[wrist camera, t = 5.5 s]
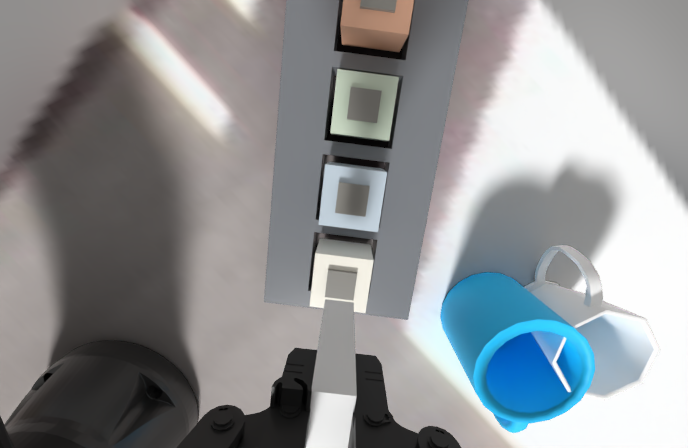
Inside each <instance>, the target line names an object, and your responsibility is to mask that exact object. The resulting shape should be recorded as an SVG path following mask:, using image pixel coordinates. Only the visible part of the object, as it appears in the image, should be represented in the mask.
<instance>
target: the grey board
mask: <svg viewBox="0 0 688 448" xmlns="http://www.w3.org/2000/svg"><path fill="white" fill-rule="evenodd" d="M467 5H468V0H414V4H413V10H412V17H411V23H410V30H409V35H408V37H407V39H406V41H405V42H404V44H403V49H402V55H401V60H399V59H392V58H384V57H377V56H369V55H362V54H354V53H347V52H339V51H337V44H338V35H339V26H340V17H341V8H342V0H286V13H285V26H284V40H283V53H282V67H281V80H280V94H279V107H278V121H277V134H276V148H275V161H274V175H273V188H272V201H271V215H270V228H269V242H268V255H267V269H266V282H265V296H264V302H267V303H275V304H283V305H292V306H300V307H308V308H316V309H324V308H319V307H310V297H311V288H312V279H313V276H312V272H313V263H314V254H315V245H316V236H317V232H318V233H326V234H334V235H342V236H350V237H358V238H366V239H373V245H372V255H373V260H374V261H373V268H372V274H371V281H370V287H369V293H368V300H367V306H366V313H359V312H354V313H357V314H365V315H373V316H381V317H389V318H398V319H406V320H408V316H409V311H410V305H411V300H412V295H413V290H414V284H415V279H416V274H417V269H418V263H419V258H420V253H421V247H422V242H423V237H424V232H425V226H426V221H427V216H428V211H429V205H430V200H431V195H432V190H433V184H434V179H435V174H436V169H437V163H438V158H439V153H440V147H441V142H442V137H443V132H444V126H445V121H446V116H447V111H448V105H449V100H450V95H451V90H452V84H453V79H454V74H455V69H456V63H457V58H458V53H459V47H460V42H461V37H462V32H463V26H464V21H465V16H466V11H467ZM337 69H342V70H349V71H357V72H364V73H372V74H380V75H387V76H395V77H399V80H398V87H397V93H396V100H395V106H394V113H393V119H392V126H391V132H390V139H389V141H388V147H387V148H381V147H373V146H366V145H358V144H350V143H342V142H335V141H327V136H328V126H329V117H330V108H331V99H332V90H333V81H334V76H337ZM325 154H326V155H334V156H342V157H350V158H357V159H365V160H373V161H381V162H385V167H384V170H385V171H386V172H387V178H386V184H385V190H384V197H383V203H382V210H381V216H380V223H379V229H378V232H372V231H364V230H356V229H348V228H340V227H332V226H324V225H319V216H320V212H319V208H320V199H321V190H322V181H323V172H324V163H325Z"/></svg>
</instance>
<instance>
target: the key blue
mask: <svg viewBox="0 0 688 448" xmlns="http://www.w3.org/2000/svg"><path fill="white" fill-rule="evenodd" d="M386 178H387V172H386V171H385V170H383V169H382V168H375V167H367V166H359V165H351V164H344V163H336V162H328V163H326V164H325V170H324V179H323V188H322V197H321V206H320V216H319V225H324V226H332V227H340V228H348V229H356V230H364V231H372V232H378V229H379V223H380V216H381V210H382V203H383V197H384V190H385V184H386Z"/></svg>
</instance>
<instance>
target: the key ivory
mask: <svg viewBox="0 0 688 448" xmlns="http://www.w3.org/2000/svg"><path fill="white" fill-rule="evenodd" d="M373 261H374V260H373V255H372V250H371V246H370V244H363V243H355V242H347V241H339V240H331V239H323V238H320V240H319V243H318V246H317V250H316V253H315V261H314V270H313V279H312V288H311V297H310V307H319V308H324V304H325V299H328V300H337V301H345V302H354V312H359V313H366V306H367V300H368V293H369V287H370V281H371V274H372V268H373Z"/></svg>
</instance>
